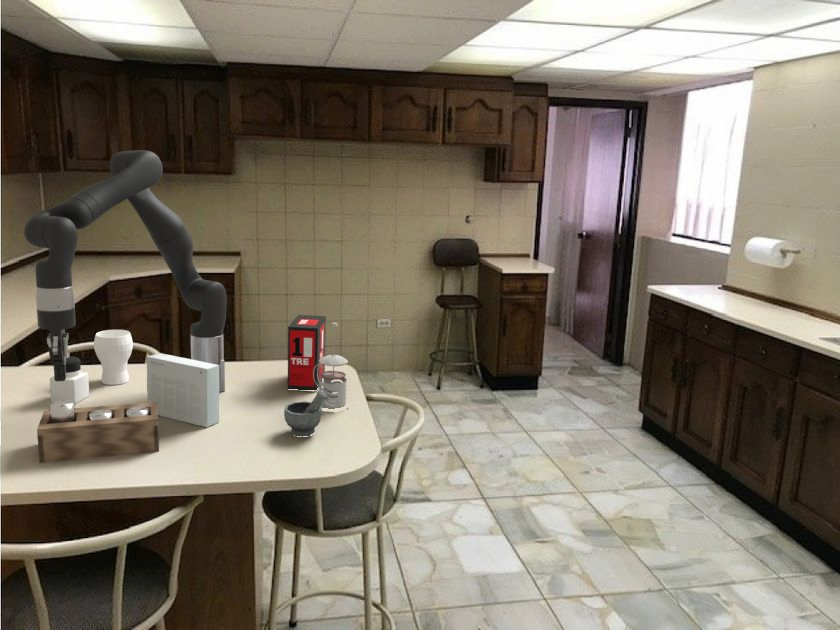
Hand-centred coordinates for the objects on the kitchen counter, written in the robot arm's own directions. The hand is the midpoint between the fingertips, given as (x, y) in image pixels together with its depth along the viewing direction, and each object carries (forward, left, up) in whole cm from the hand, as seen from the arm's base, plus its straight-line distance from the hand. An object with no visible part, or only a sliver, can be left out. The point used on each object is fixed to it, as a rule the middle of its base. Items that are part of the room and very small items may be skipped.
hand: (60, 380), depth 156 cm
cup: (-9, -50, -18) cm, 54 cm away
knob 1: (0, 0, -11) cm, 11 cm away
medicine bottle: (+2, -36, -18) cm, 40 cm away
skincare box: (-27, -15, -18) cm, 35 cm away
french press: (-67, -14, -18) cm, 71 cm away
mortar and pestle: (-56, +4, -18) cm, 59 cm away
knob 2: (-16, 0, -14) cm, 21 cm away
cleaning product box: (-65, -36, -18) cm, 76 cm away
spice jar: (-8, 0, -14) cm, 16 cm away
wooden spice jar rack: (-8, 0, -17) cm, 19 cm away
